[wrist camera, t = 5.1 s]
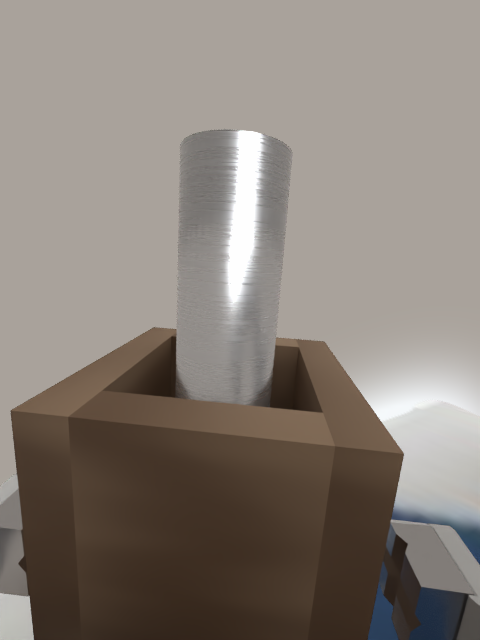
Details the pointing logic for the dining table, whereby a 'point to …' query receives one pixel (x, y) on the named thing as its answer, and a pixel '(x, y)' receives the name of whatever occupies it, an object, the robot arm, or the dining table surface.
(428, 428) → the dining table surface
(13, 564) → the robot arm
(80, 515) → the walnut sleeve
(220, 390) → the vise
